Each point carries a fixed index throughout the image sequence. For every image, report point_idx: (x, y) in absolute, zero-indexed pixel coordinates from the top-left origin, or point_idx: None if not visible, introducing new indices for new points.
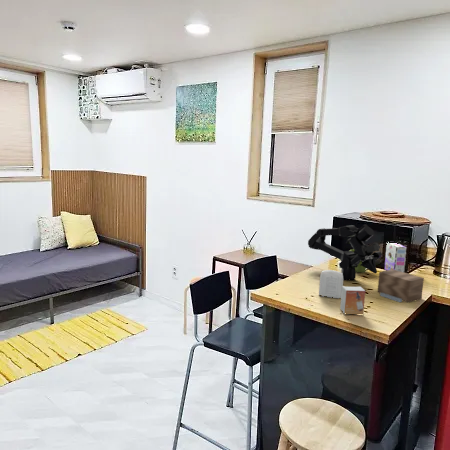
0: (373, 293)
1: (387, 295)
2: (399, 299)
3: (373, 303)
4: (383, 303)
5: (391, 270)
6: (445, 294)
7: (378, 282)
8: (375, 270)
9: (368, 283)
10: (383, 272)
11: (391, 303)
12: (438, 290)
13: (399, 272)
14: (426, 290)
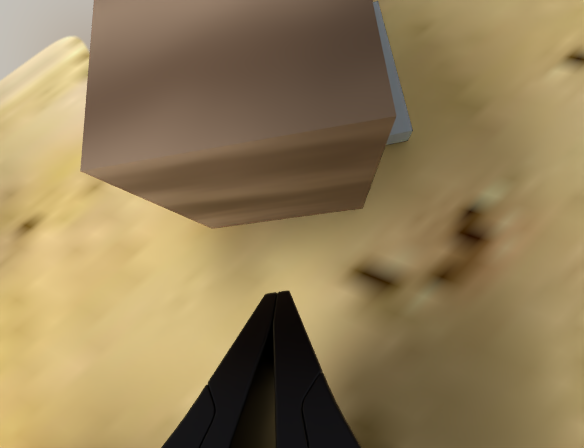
0: (420, 192)
1: (398, 78)
2: (378, 5)
3: (576, 38)
4: (500, 24)
5: (145, 129)
6: (37, 54)
7: (371, 179)
8: (283, 310)
9: None
10: (347, 80)
11: (444, 14)
12: (3, 108)
13: (138, 30)
14: (53, 127)
